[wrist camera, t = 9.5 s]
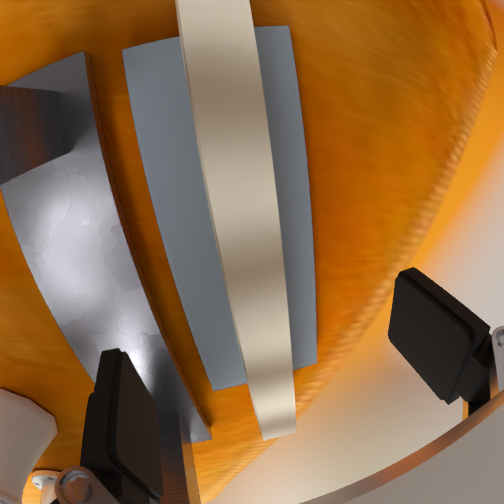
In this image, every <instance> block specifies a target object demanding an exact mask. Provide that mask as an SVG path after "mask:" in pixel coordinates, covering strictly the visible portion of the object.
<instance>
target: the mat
mask: <svg viewBox="0 0 504 504" xmlns="http://www.w3.org/2000/svg"><path fill="white" fill-rule="evenodd" d="M254 33H255V39H256V45H257V52H258V58H259V65H260V72H261V79H262V85H263V92H264V100H265V107H266V114H267V122H268V129H269V137H270V145H271V153H272V161H273V169H274V177H275V186H276V195H277V203H278V212H279V222H280V231H281V241H282V250H283V260H284V271H285V281H286V292H287V303H288V315H289V327H290V339H291V352H292V366H293V370H296V369H299V368H303V367H306V366H309V365H312V364H315V363H317V330H316V290H315V266H314V246H313V229H312V215H311V201H310V189H309V177H308V166H307V156H306V146H305V137H304V128H303V119H302V111H301V103H300V95H299V88H298V81H297V74H296V67H295V60H294V54H293V48H292V41H291V36H290V30H289V26H262V27H254ZM122 54H123V61H124V68H125V74H126V81H127V87H128V93H129V98H130V104H131V109H132V115H133V120H134V125H135V130H136V135H137V140H138V144H139V149H140V154H141V158H142V163H143V167H144V171H145V176H146V180H147V184H148V188H149V192H150V196H151V200H152V204H153V208H154V212H155V215H156V219H157V223H158V227H159V230H160V234H161V237H162V241H163V244H164V248H165V251H166V255H167V258H168V262H169V265H170V268H171V271H172V275H173V278H174V281H175V284H176V288H177V291H178V294H179V297H180V300H181V303H182V306H183V309H184V312H185V315H186V318H187V321H188V324H189V327H190V330H191V332H192V335H193V338H194V341H195V344H196V347H197V349H198V352H199V355H200V357H201V360H202V363H203V365H204V368H205V371H206V373H207V376H208V379H209V381H210V384H211V386H212V389H213V391H216V390H221V389H225V388H229V387H234V386H238V385H242V384H246V383H247V379H246V375H245V371H244V367H243V362H242V358H241V354H240V350H239V346H238V341H237V337H236V333H235V328H234V324H233V320H232V315H231V311H230V306H229V302H228V297H227V293H226V288H225V284H224V279H223V274H222V270H221V265H220V260H219V255H218V251H217V246H216V241H215V236H214V231H213V226H212V221H211V216H210V211H209V206H208V201H207V196H206V190H205V185H204V180H203V174H202V169H201V164H200V158H199V153H198V147H197V141H196V136H195V130H194V124H193V118H192V112H191V106H190V100H189V94H188V88H187V82H186V75H185V69H184V62H183V56H182V49H181V42H180V36H178V37H173V38H168V39H163V40H159V41H154V42H150V43H146V44H142V45H138V46H134V47H130V48H127V49H123V50H122Z"/></svg>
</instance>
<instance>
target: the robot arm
mask: <svg viewBox="0 0 504 504" xmlns="http://www.w3.org/2000/svg"><path fill="white" fill-rule="evenodd" d="M490 328H491V327H490V326H489V325H487V324H486V323H485V322H484V321H483V320H482V319H480V318H479V317H478V316H477V315H476V314H474V313H473V312H472V311H471V310H469V309H468V308H467V307H466V306H464V305H463V304H462V303H461V302H459V301H458V300H457V299H456V298H454V297H453V296H452V295H450V294H449V293H448V292H447V291H445V290H444V289H443V288H442V287H440V286H439V285H438V284H436V283H435V282H434V281H432V280H431V279H430V278H428V277H427V276H426V275H424V274H423V273H422V272H420V271H419V270H418V269H416V268H414V267H413V268H409V269H406V270H403V271H401V272H399V274H398V277H397V278H396V280H395V287H394V295H393V303H392V310H391V318H390V324H389V330H388V337H389V340H390V342H391V343H392V344H393V345H394V346H395V347H396V349H397V350H398V351H399V352H400V353H401V354H402V355H403V357H404V358H405V359H406V360H407V361H408V362H409V364H410V365H411V366H412V367H413V368H414V369H415V370H416V372H417V373H418V374H419V375H420V376H421V378H422V379H423V380H424V381H425V382H426V383H427V385H428V386H429V387H430V388H431V389H432V391H433V392H435V394H436V395H437V396H438V398H439V399H441V400H445V402H446V403H447V404H448V405H449V404H450V403H452V402H453V401H455V400H456V399H458V398H459V396H461V397H462V398H463V421H462V422H461V423H460V424H458V425H456V426H455V427H454V428H452V429H451V430H449V431H448V432H446V433H445V434H443V435H442V436H440V437H439V438H437V439H436V440H434V441H432V442H431V443H429V444H428V445H426V446H424V447H423V448H421V449H419V450H418V451H416V452H414V453H413V454H411V455H409V456H407V457H406V458H404V459H402V460H400V461H398V462H397V463H395V464H393V465H391V466H389V467H387V468H385V469H383V470H381V471H379V472H377V473H375V474H373V475H371V476H368V477H366V478H364V479H362V480H360V481H358V482H355V483H353V484H351V485H348V486H346V487H344V488H341V489H339V490H336V491H334V492H331V493H328V494H326V495H323V496H320V497H318V498H315V499H312V500H309V501H306V502H303V503H300V504H504V326H501V327H498V328H496V329H495V330H494V331H493V333H492V335H490V334H489V330H490ZM32 482H33V484H34V485H35V486H36V487H37V488H39V489H40V490H41V497H40V504H160V497H163V496H164V487H163V478H162V467H161V456H160V442H159V426H158V410H157V406H156V403H155V401H154V399H153V398H152V396H151V394H150V393H149V391H148V389H147V388H146V386H145V384H144V382H143V381H142V379H141V377H140V375H139V374H138V372H137V370H136V368H135V367H134V365H133V363H132V361H131V359H130V357H129V355H128V354H127V352H126V351H124V352H122V351H121V350H120V349H119V348H115V349H110V350H104V351H102V352H101V355H100V360H99V365H98V371H97V376H96V382H95V387H94V393H91V394H90V396H89V399H88V405H87V411H86V418H85V425H84V432H83V441H82V450H81V460H80V466H71V467H68V468H66V469H64V470H63V471H62V472H58V471H51V470H37V471H35V472H33V474H32Z"/></svg>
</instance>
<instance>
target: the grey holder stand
mask: <svg viewBox="0 0 504 504" xmlns="http://www.w3.org/2000/svg"><path fill="white" fill-rule="evenodd" d="M0 189H1V192H2V196H3V199H4V202H5V205H6V208H7V211H8V214H9V217H10V220H11V223H12V226H13V229H14V231H15V234H16V237H17V239H18V242H19V244H20V247H21V249H22V252H23V254H24V257H25V259H26V261H27V264H28V266H29V268H30V271H31V273H32V275H33V277H34V279H35V282H36V284H37V286H38V288H39V290H40V292H41V294H42V296H43V298H44V300H45V302H46V304H47V306H48V308H49V310H50V312H51V313H52V315H53V317H54V319H55V321H56V323H57V324H58V326H59V328H60V330H61V331H62V333H63V335H64V337H65V338H66V340H67V342H68V343H69V345H70V347H71V348H72V350H73V351H74V353H75V355H76V356H77V358H78V359H79V361H80V362H81V364H82V366H83V367H84V369H85V370H86V372H87V373H88V375H89V376H90V377H91V379H92V380H93V382H94V383H95V382H96V376H97V371H98V365H99V360H100V355H101V352H102V351H104V350H110V349H115V348H119V349H120V350H121V351H122V352H124V351H126V352H127V354H128V355H129V357H130V359H131V361H132V363H133V365H134V367H135V368H136V370H137V372H138V374H139V375H140V377H141V379H142V381H143V382H144V384H145V386H146V388H147V389H148V391H149V393H150V394H151V396H152V398H153V399H154V401H155V403H156V406H157V410H158V426H159V442H160V456H161V467H162V478H163V487H164V496H163V497H160V504H201V501H200V495H199V489H198V483H197V477H196V471H195V465H194V458H193V451H192V444H191V443H195V442H200V441H206V440H211V439H212V435H211V430H210V427H209V425H208V423H207V421H206V419H205V417H204V415H203V413H202V411H201V409H200V407H199V405H198V403H197V401H196V399H195V397H194V395H193V393H192V391H191V389H190V387H189V384H188V382H187V380H186V378H185V376H184V374H183V371H182V369H181V367H180V365H179V362H178V360H177V358H176V356H175V353H174V351H173V349H172V346H171V344H170V342H169V339H168V337H167V334H166V332H165V329H164V327H163V325H162V322H161V319H160V317H159V314H158V312H157V309H156V307H155V304H154V301H153V299H152V296H151V293H150V291H149V288H148V285H147V282H146V280H145V277H144V274H143V271H142V268H141V265H140V262H139V259H138V256H137V253H136V250H135V247H134V244H133V241H132V238H131V234H130V231H129V228H128V225H127V221H126V218H125V215H124V211H123V208H122V204H121V200H120V197H119V193H118V189H117V186H116V182H115V178H114V174H113V170H112V166H111V162H110V158H109V153H108V149H107V144H106V140H105V135H104V131H103V126H102V121H101V116H100V110H99V105H98V99H97V93H96V87H95V81H94V74H93V67H92V60H91V55H90V54H88V53H86V52H85V51H82V52H80V53H77V54H74V55H72V56H69V57H67V58H64V59H62V60H59V61H57V62H55V63H52V64H50V65H48V66H46V67H43V68H41V69H39V70H37V71H35V72H33V73H31V74H28V75H26V76H24V77H22V78H21V79H19V80H17V81H15V82H13V83H11V84H9V85H7V86H0Z"/></svg>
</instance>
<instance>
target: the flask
mask: <svg viewBox="0 0 504 504" xmlns="http://www.w3.org/2000/svg"><path fill="white" fill-rule="evenodd" d="M57 433H58V432H57V427H56V421H55V417H54V416H52V415H51V414H49V413H48V412H46V411H45V410H44V409H42V408H41V407H39V406H38V405H37V404H35V403H34V402H32V401H31V400H30V399H28V398H25V397H22V396H19V395H17V394H14V393H11V392H9V391H6V390H4V389H0V504H22V494H23V489H24V486H25V484H26V481H27V478H28V476H29V474H30V472H31V471H32V469H33V468H34V466H35V464H36V463H37V461H38V460H39V458H40V457H41V455H42V454H43V452H44V451H45V450H46V448H47V447H48V445H49V444H50V443H51V441H52V440H53V439H54V437H55V436H56V434H57Z"/></svg>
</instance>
